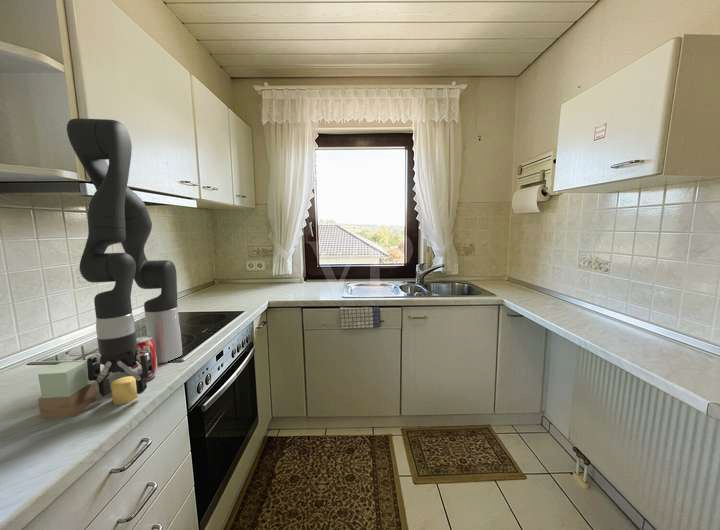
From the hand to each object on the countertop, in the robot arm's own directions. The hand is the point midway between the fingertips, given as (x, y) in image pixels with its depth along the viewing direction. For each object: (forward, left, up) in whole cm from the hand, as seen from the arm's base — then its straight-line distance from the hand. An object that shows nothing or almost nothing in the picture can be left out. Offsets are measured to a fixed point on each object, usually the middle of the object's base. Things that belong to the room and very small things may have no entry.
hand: (123, 393), depth 78 cm
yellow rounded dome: (0, 0, -2) cm, 2 cm away
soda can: (-11, -2, -2) cm, 12 cm away
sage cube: (+3, -11, +3) cm, 12 cm away
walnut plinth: (+3, -11, -2) cm, 11 cm away
